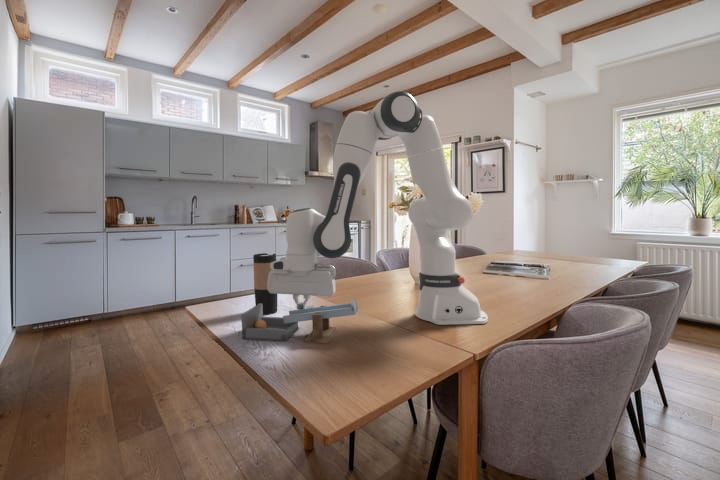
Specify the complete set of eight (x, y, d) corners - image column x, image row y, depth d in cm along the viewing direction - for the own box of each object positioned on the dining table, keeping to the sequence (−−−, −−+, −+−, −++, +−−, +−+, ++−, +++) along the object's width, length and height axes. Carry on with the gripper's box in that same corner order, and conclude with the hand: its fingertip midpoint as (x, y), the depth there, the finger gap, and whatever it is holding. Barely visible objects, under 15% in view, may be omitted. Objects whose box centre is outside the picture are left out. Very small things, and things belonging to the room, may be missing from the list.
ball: (255, 325, 101) (265, 330, 101) (250, 329, 98) (260, 334, 98) (260, 316, 101) (269, 321, 100) (255, 319, 98) (265, 325, 97)
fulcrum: (336, 329, 101) (335, 305, 101) (327, 343, 91) (326, 316, 90) (316, 328, 102) (315, 304, 102) (305, 342, 92) (304, 315, 91)
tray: (298, 327, 103) (297, 304, 103) (284, 341, 93) (283, 315, 92) (260, 326, 105) (259, 303, 105) (242, 339, 94) (241, 314, 94)
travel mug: (257, 316, 115) (255, 256, 113) (253, 310, 122) (251, 254, 120) (280, 313, 119) (278, 254, 117) (275, 307, 125) (273, 252, 124)
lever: (361, 302, 104) (360, 293, 104) (354, 314, 92) (353, 304, 92) (298, 310, 107) (297, 301, 107) (284, 323, 95) (282, 313, 95)
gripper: (338, 262, 104) (338, 308, 105) (273, 260, 107) (273, 304, 108) (333, 266, 98) (333, 314, 99) (264, 263, 101) (265, 310, 102)
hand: (301, 309), depth 104 cm, fingers closed
